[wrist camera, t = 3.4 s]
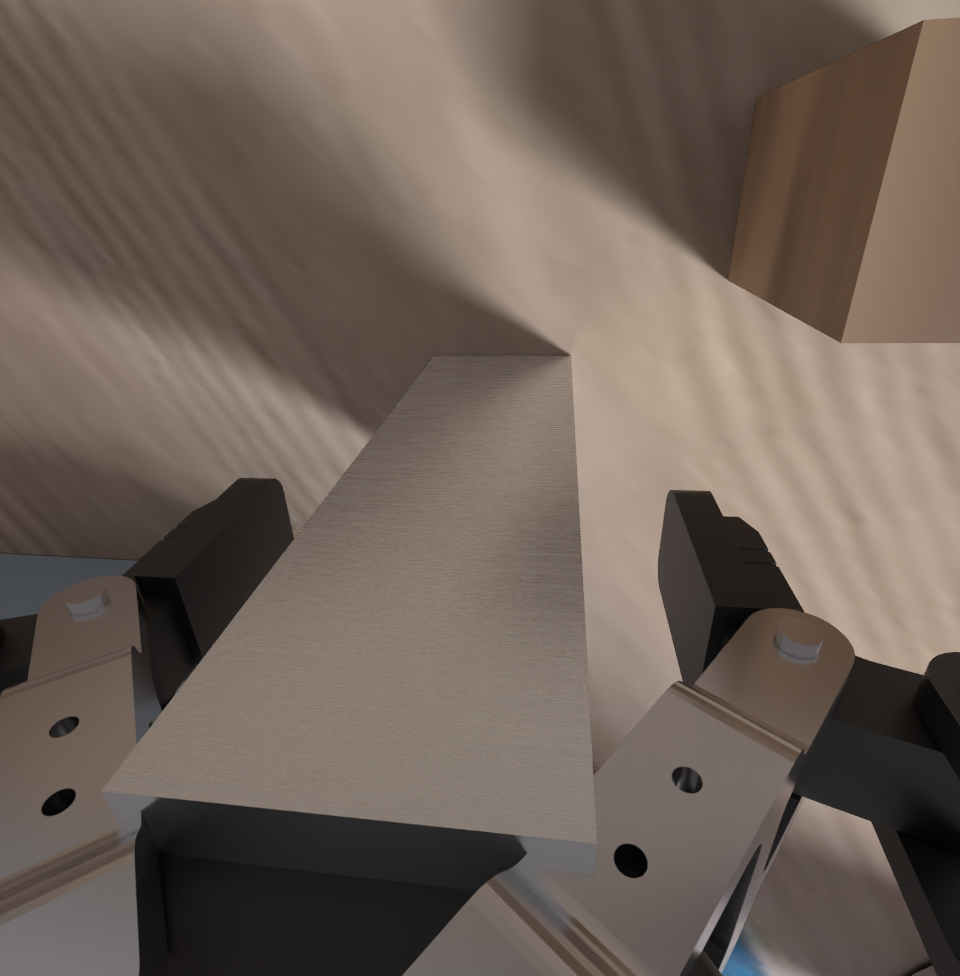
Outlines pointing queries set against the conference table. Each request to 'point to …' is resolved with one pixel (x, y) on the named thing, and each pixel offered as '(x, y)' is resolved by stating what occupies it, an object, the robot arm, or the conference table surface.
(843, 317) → the short walnut pin
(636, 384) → the conference table surface
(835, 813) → the conference table surface
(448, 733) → the long steel pin
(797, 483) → the conference table surface
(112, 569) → the hole block
